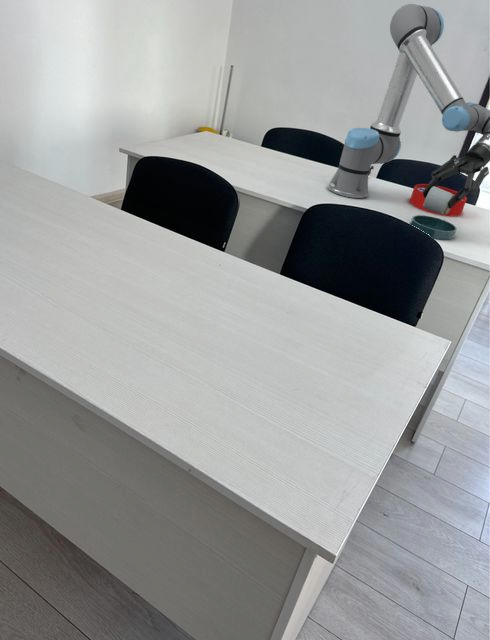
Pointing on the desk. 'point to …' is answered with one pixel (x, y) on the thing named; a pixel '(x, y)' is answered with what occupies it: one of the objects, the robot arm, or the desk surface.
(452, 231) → the bowl
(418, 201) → the toy clock
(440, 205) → the grey cylinder
